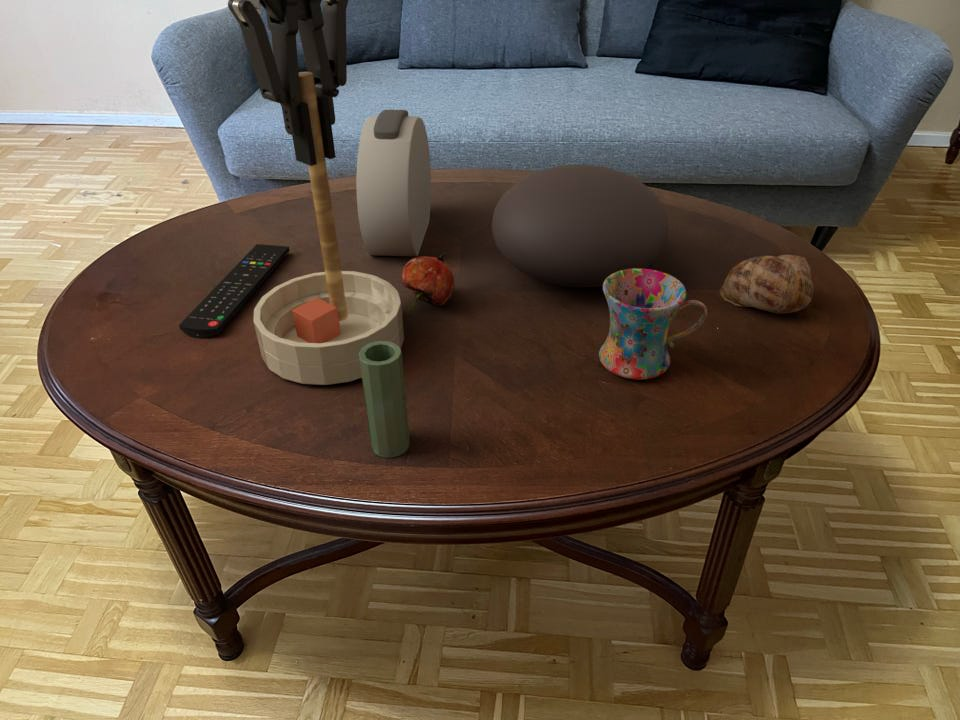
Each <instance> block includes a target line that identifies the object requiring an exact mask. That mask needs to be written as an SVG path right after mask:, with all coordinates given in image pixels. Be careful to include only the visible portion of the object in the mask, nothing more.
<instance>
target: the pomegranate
mask: <svg viewBox="0 0 960 720" xmlns="http://www.w3.org/2000/svg"><path fill="white" fill-rule="evenodd" d="M446 255H447V253H446V251H443V252H442V253H441V255H440V256H438V257H434V256H426V255H422V256H416V257H412V258H411V259H410V260H408V261H407V262H406V263H405V265H404V267H403V269H402V275H401V277H402V279H401V281H402V285H403V287H405V288H407V289H408V290H411V292H412V294H413V295H414V297H416V298H415V299H414V301H413V303H412V305H411V306H410V307H409V309H408V310H407V312H406V315H407V316H409V314H410V313H411V312H412V310H413V308H415V307H416V306H417V302H418V301H419V300H423V301H427V302H431V303H432V304H433V305H435V306H437V307H443V306H444V305H445V304H446V303H448V301H449V300H450V299H451V297H452V295H453V292H454V290H455V277H454V274H453V271H452V270H451V268H450V267H448V265H447V263H446V262H445V257H446Z"/></svg>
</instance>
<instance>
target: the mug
mask: <svg viewBox="0 0 960 720" xmlns="http://www.w3.org/2000/svg"><path fill="white" fill-rule="evenodd" d="M602 291H603V294H604V297H605V299H606V302H607V306H608V311H609V329H608V333H607V336H606V339H605V341H604V343H603V344H602V345H601V347H600V349H599V351H598V357H599V361H600V362H601V364H602V366H603V367H604V368H605V369H606V370H607V371H608V372H610V373H612V374H613V375H615V376H618V377H620V378H624V379H630V380H639V381H640V380H641V381H643V380H651V379H655V378H657V377H660V376H661V375H663V374H665V372H667V370H668V369H669V367H670V365H671V356H670V354H669V350H668V346H669V347H670V348H674V343H673V342H672V341H675V340H678V339H682V338H684V337H685V336H688V335H690V334H691V333H693V332H694V331H696V330H697V329H698V328H699V327H700V326H701V325H702V324H703V323H704V321H706V318H707V316H708V308H707V306H706V305H705V303H703V302H702V301H699V300H696V299H689V300H686V299H687V290H686V287H685V285H684V284H683V283H682V282H681V281H680V280H679V279H678V278H676V277H675V276H673V275H671V274H669V273H666V272H663V271H660V270H656V269H651V268H645V269H626V270H621V271H618V272H615V273H613V274H611V275H610V276H608V277H607V278H606V279H605V281H604V283H603V285H602ZM685 300H686V301H685ZM688 306H698V307H700V308H701V309H702V311H703V313H702V315H701V316H700V318H699V319H698V320H697V321H696V322H695V323H694V324H693V325H691V326H690V327H689V328H687V329H686V330H684V331H681V332H679V333H675V334H673V335H670V336H668V334H669V333H668V332H669V328H670V326H671V324H672V321H673V318H675V317H676V316H677V314H678V313H679V312H680V311H681V310H682V309H684V308H685V307H688Z"/></svg>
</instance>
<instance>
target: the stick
mask: <svg viewBox="0 0 960 720" xmlns="http://www.w3.org/2000/svg"><path fill="white" fill-rule="evenodd" d="M299 84H300V97H301V101H300V102H304V103H307V104H308V108H309V115H310V121H311V128H312V135H313V142H314V148H315V155H316V162H317V164H316V165H313V166H310V165H307V168H308V175H309V180H310V187H311V192H312V199H313V200H312V201H313V205H314V212H315V213H314V214H315V219H316V224H317V231H318V237H319V244H320V251H321V256H322V262H323V263H322V264H323V269H324V272H325V276H326V282H327V288H328V295H329V301H330V304H331V305H333V306H335V307H337V311H338V317H339V321H343V320H345V319H347V317H348V314H347V307H346V300H345V293H344V286H343V279H342V272H341V271H342V266H341V259H340V252H339V251H340V250H339V244H338V237H337V232H336V223H335V216H334V210H333V203H332V196H331V189H330V188H331V187H330V182H329V176H328V175H329V174H328V168H327V161H326V158H325V153H324V146H323V139H322V132H321V125H320V118H319V111H318V104H317V97H316V90H315V83H314V76H313V73H311V72H308V71H299Z"/></svg>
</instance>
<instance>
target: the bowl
mask: <svg viewBox="0 0 960 720" xmlns="http://www.w3.org/2000/svg"><path fill="white" fill-rule="evenodd" d="M341 272H342V279H343V286H344V293H345V300H346V307H347V314H348V317H347V319H345V320H343V321H339V324H340V330H341V334H340V335H338V336H336V337H335V338H333V339H331V340H329V341H327V342H326V343H308V342H306V341H305V340H303V339H301V338H299V337H298V336H297V333H296V328H295V323H294V318H293V313H292V310H293V309H295V308H297V307H299V306H301V305H303V304H305V303H307V302H309V301H311V300H313V299H315V298H319V299H321V300H323V301H325V302H327V303H329V304H330V301H329V295H328V288H327V282H326V276H325V271H319V272H313V273H308V274H304V275H301V276H297V277H294V278H292V279H289V280H287V281H285V282H283V283H281V284H278V285H276V286H274V287H273V288H271V290H269V291H268V292H267V293H265V294H264V295H263V296H261V298H260V299H259V300H258V301H257V304H256V305H255V307H254V309H253V319H252V320H253V325H254V329H255V335H256V339H257V342H258V345H259V351H260V356H261V359H262V360H263V362H264V364H265V365H266V367H267V368H268V370H269V371H271V372H273V373H274V374H276V375H277V376H278V377H280V378H281V379H284V380H287V381H290V382H295V383H298V384H302V385H317V386H318V385H319V386H328V385H335V384H342V383H349V382H353V381H357V380H358V379H362V376H361V369H360V362H359V352H360V350H361V349H362V347H364V346H366V345H367V344H369V343H372V342H377V341H388V342H393V343H394V344H396V345H398V346H399V347H400V350H401V351H402V347H403V344H404V340H405V333H404V323H403V322H404V321H403V310H402V300H401V297H400V294H399V291H398V290H397V289H396V288H395V287H394V286H393V285H392V284H391V283H390V282H389V281H388V280H385V279H383V278H381V277H379V276H376V275H374V274H370V273H365V272H360V271H353V270H341Z"/></svg>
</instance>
